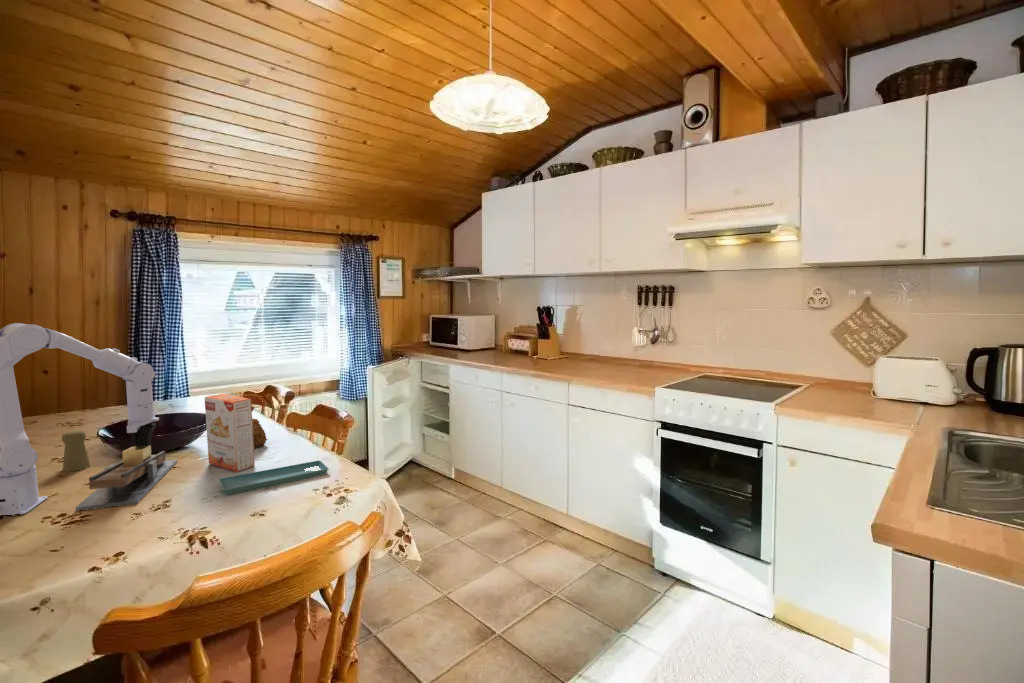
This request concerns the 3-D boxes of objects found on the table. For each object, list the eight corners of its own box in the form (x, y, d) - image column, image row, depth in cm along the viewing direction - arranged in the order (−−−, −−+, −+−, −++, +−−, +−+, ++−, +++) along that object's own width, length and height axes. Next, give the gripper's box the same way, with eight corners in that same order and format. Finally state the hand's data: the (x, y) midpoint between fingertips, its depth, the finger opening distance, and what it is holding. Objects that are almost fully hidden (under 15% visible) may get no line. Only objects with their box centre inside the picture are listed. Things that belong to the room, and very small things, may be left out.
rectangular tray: (320, 466, 143) (319, 458, 143) (329, 475, 136) (329, 467, 136) (218, 487, 127) (218, 478, 127) (223, 499, 120) (222, 489, 120)
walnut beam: (125, 485, 116) (124, 474, 116) (89, 489, 113) (89, 477, 113) (165, 460, 142) (165, 451, 142) (137, 463, 140) (136, 453, 140)
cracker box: (207, 464, 143) (203, 396, 140) (227, 458, 148) (223, 392, 146) (235, 473, 136) (232, 401, 134) (255, 466, 141) (252, 397, 139)
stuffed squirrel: (251, 438, 169) (249, 402, 167) (276, 444, 162) (275, 406, 160) (223, 446, 160) (220, 407, 158) (248, 453, 153) (246, 413, 152)
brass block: (142, 464, 129) (142, 449, 129) (122, 466, 128) (122, 451, 128) (151, 459, 135) (150, 445, 135) (132, 461, 133) (131, 446, 133)
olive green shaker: (73, 472, 136) (70, 435, 134) (56, 470, 137) (53, 433, 136) (95, 465, 141) (92, 429, 140) (79, 463, 143) (76, 427, 141)
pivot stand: (137, 504, 116) (135, 482, 115) (75, 511, 112) (73, 488, 111) (176, 462, 144) (175, 445, 144) (128, 467, 140) (127, 449, 139)
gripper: (147, 408, 129) (151, 457, 130) (165, 397, 142) (168, 441, 144) (115, 410, 126) (119, 460, 128) (137, 399, 140) (140, 444, 141)
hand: (143, 450), depth 136 cm, fingers closed
